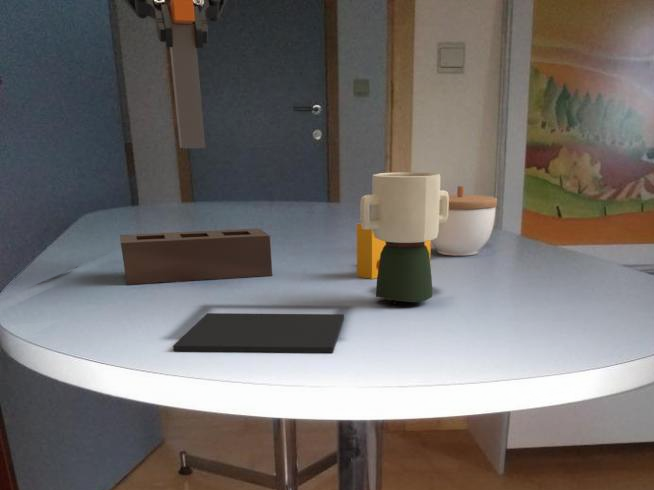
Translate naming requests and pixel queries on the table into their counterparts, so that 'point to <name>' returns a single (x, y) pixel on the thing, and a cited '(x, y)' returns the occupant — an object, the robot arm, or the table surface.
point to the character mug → (404, 231)
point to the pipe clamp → (371, 252)
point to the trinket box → (466, 224)
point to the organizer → (196, 255)
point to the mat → (263, 333)
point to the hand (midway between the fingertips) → (184, 40)
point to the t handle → (186, 75)
